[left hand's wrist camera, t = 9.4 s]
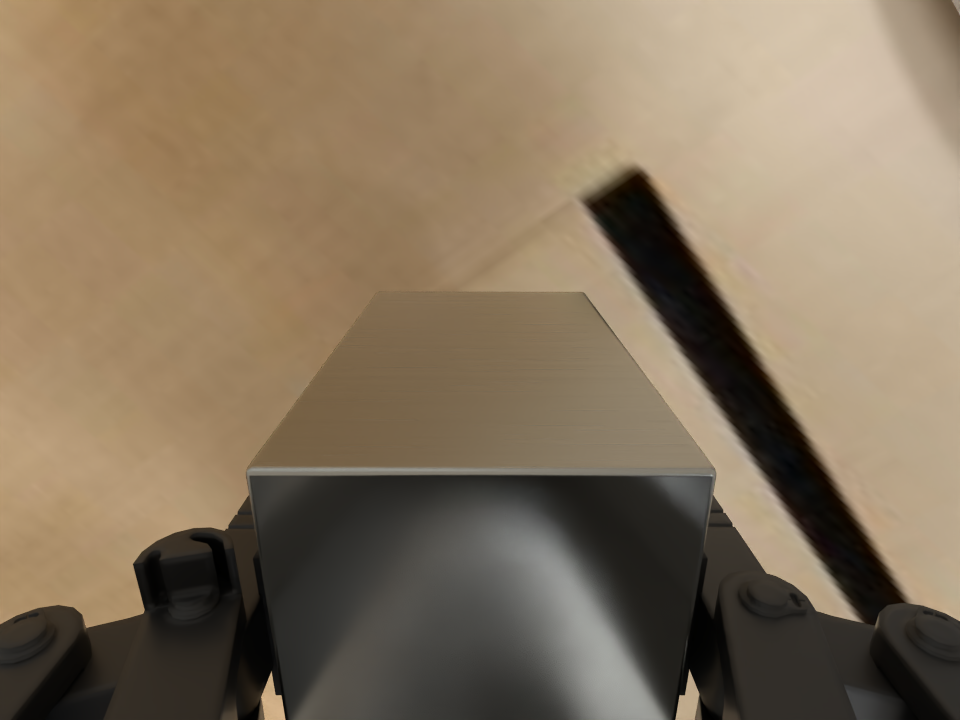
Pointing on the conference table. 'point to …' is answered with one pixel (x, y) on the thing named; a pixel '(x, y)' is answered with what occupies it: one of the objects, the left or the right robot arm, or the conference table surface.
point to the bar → (480, 519)
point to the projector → (957, 5)
